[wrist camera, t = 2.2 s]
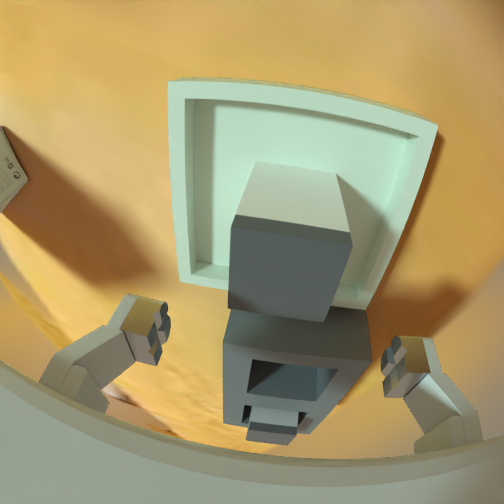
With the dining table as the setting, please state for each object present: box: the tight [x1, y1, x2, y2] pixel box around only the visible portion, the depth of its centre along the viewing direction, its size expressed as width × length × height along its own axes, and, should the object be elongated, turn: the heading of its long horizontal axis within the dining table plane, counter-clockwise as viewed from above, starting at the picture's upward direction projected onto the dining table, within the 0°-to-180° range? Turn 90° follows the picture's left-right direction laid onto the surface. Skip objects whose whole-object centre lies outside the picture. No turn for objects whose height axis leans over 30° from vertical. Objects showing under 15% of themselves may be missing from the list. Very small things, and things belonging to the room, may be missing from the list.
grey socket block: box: [223, 306, 372, 434], centre depth 23 cm, size 16×9×6 cm, turn 176°
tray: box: [168, 77, 438, 310], centre depth 15 cm, size 12×12×2 cm
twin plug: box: [246, 406, 299, 445], centre depth 24 cm, size 4×4×6 cm
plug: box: [228, 161, 353, 322], centre depth 13 cm, size 4×4×6 cm
